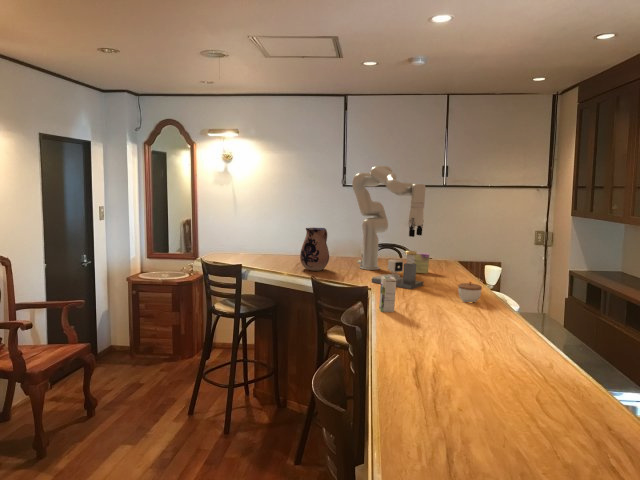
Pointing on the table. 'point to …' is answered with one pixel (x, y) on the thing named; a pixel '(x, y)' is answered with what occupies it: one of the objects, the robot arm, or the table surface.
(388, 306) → the syrup box
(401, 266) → the security camera
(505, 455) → the table surface
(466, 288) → the lidded jar
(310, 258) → the ceramic pitcher
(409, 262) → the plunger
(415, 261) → the box
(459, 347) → the table surface
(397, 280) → the press base
